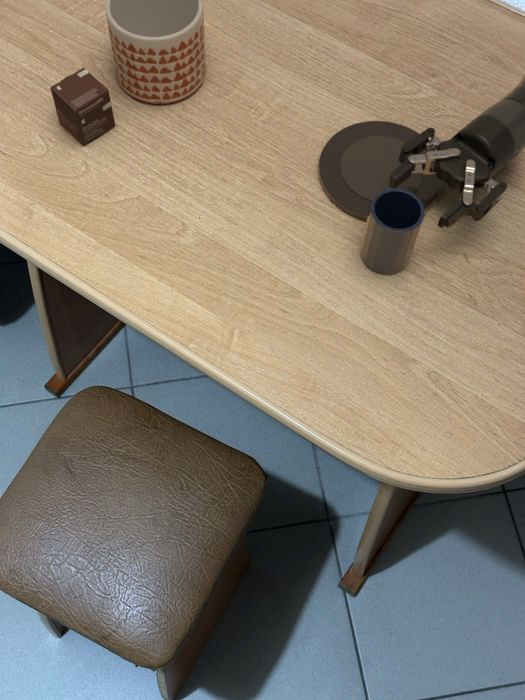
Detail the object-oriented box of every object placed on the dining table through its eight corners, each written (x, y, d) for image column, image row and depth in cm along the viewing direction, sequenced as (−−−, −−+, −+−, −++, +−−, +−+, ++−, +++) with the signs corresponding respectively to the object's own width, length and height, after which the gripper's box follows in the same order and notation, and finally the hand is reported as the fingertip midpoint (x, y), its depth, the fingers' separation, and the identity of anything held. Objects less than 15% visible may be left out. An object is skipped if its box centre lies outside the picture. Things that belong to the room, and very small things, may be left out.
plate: (437, 127, 125) (439, 122, 124) (447, 226, 117) (449, 221, 116) (317, 123, 125) (318, 117, 124) (319, 222, 116) (319, 217, 115)
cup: (408, 234, 116) (422, 189, 107) (411, 275, 113) (426, 232, 104) (359, 232, 116) (370, 187, 107) (361, 274, 113) (371, 230, 104)
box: (83, 147, 121) (74, 111, 115) (58, 123, 123) (48, 86, 117) (116, 126, 123) (110, 89, 117) (91, 103, 125) (83, 65, 119)
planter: (101, 91, 126) (88, 23, 115) (138, 31, 132) (129, -40, 121) (185, 116, 125) (180, 50, 113) (218, 54, 131) (217, -15, 119)
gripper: (460, 89, 114) (380, 153, 108) (544, 150, 109) (464, 219, 104) (448, 127, 120) (371, 189, 115) (526, 186, 116) (450, 253, 110)
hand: (416, 203), depth 109 cm, fingers open, 8 cm apart
